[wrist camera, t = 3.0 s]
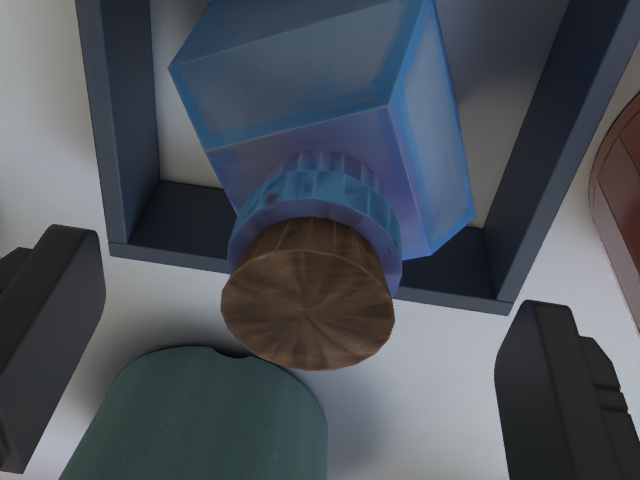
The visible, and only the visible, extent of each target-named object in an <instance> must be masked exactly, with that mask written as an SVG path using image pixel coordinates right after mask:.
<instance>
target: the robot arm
mask: <svg viewBox="0 0 640 480" xmlns="http://www.w3.org/2000/svg"><path fill="white" fill-rule="evenodd" d="M105 298H106V287H105V279H104V272H103V265H102V258H101V251H100V244H99V238H98V234H97V233H96V231H94V230H89V229H83V228H76V227H70V226H63V225H57V224H53V225H51V226H50V227H48V229H47V230H46V231H45V233H44V234H43V235H42V237H41V238H40V240H39V241H38V243H37V244H36V245H35V247H34V248H33V249H28V248H22V247H18V248H17V249H15V250H14V251H12V252H11V253H9V254H8V255H6V256H5V257H3V258H2V259H0V471H4V472H11V473H17V474H23V472H24V470H25V468H26V466H27V465H28V463H29V461H30V459H31V457H32V455H33V453H34V451H35V449H36V447H37V445H38V443H39V441H40V439H41V437H42V435H43V433H44V431H45V429H46V427H47V425H48V423H49V421H50V419H51V417H52V415H53V413H54V411H55V409H56V407H57V405H58V403H59V401H60V399H61V397H62V395H63V393H64V391H65V389H66V387H67V385H68V383H69V381H70V379H71V377H72V375H73V373H74V371H75V369H76V367H77V365H78V363H79V361H80V359H81V357H82V355H83V353H84V351H85V349H86V347H87V345H88V343H89V341H90V339H91V337H92V335H93V333H94V331H95V329H96V327H97V325H98V323H99V321H100V318H101V316H102V313H103V309H104V304H105ZM494 383H495V390H496V396H497V402H498V409H499V415H500V421H501V428H502V434H503V441H504V447H505V453H506V460H507V466H508V472H509V479H510V480H640V441H639V438H638V435H637V432H636V430H635V427H634V424H633V421H632V418H631V415H630V414H628V412H627V411H628V407H627V404H626V401H625V398H624V395H623V393H621V392H620V388H621V387H620V384H619V381H618V378H617V375H616V372H615V369H614V367H613V364H612V362H611V360H610V359H609V358H608V356H607V355H606V354H605V353H604V351H603V350H602V349H601V348H600V346H599V345H598V344H597V343H596V341H595V340H594V339H593V338H590V337H583V336H579V333H578V330H577V327H576V323H575V320H574V317H573V314H572V311H571V309H570V308H569V307H568V306H566V305H560V304H554V303H547V302H541V301H534V300H525V301H524V302H523V303H522V304H521V306H520V308H519V310H518V312H517V314H516V316H515V318H514V320H513V322H512V324H511V326H510V328H509V330H508V332H507V334H506V336H505V338H504V340H503V343H502V345H501V347H500V349H499V351H498V354H497V357H496V362H495V369H494Z"/></svg>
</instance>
